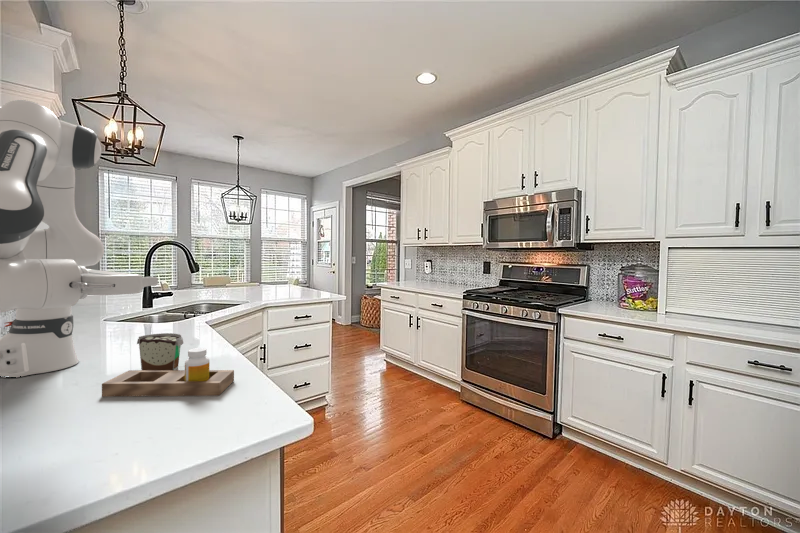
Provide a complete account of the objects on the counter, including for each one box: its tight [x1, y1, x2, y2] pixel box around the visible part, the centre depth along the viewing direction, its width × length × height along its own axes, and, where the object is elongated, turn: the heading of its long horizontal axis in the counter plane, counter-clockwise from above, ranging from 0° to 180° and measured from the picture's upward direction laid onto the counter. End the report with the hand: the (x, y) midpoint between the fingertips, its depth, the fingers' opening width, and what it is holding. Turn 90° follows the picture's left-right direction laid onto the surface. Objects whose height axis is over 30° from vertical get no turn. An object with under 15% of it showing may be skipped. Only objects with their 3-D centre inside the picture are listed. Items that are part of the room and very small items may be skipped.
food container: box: [136, 332, 184, 370], centre depth 100 cm, size 12×6×10 cm, turn 84°
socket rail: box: [101, 369, 235, 398], centre depth 88 cm, size 26×9×3 cm, turn 96°
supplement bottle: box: [184, 347, 210, 381], centre depth 88 cm, size 5×5×10 cm
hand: (143, 279), depth 77 cm, fingers open, 8 cm apart
